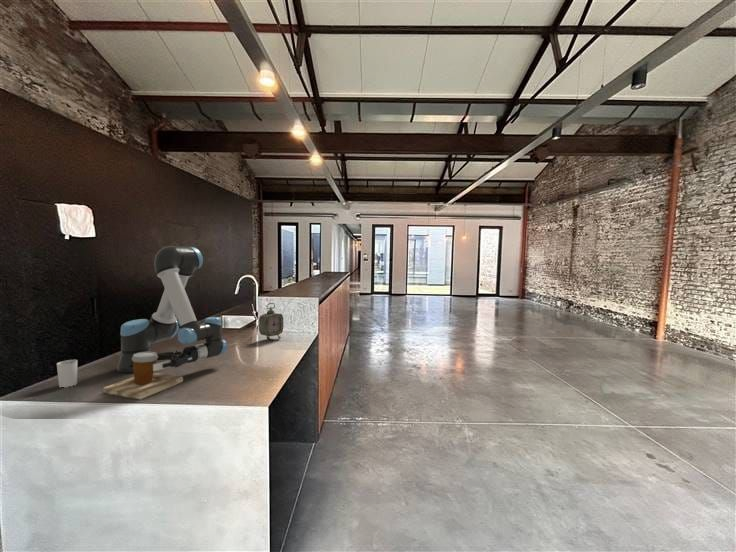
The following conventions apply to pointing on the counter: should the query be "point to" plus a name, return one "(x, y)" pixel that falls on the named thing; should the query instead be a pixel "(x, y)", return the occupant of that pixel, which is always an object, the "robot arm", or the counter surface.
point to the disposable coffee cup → (143, 367)
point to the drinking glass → (67, 373)
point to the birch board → (143, 386)
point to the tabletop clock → (271, 323)
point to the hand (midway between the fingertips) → (145, 364)
